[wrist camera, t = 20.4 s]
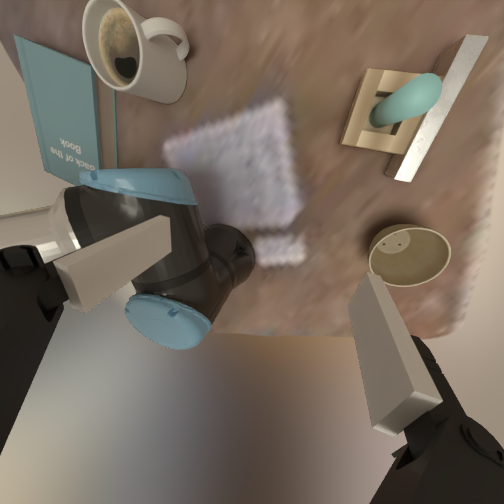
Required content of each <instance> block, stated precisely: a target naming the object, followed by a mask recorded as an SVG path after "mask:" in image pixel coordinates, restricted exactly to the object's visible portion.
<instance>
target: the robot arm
mask: <svg viewBox="0 0 504 504" xmlns="http://www.w3.org/2000/svg"><path fill="white" fill-rule="evenodd" d="M79 176H80V178H79V181H80V183H81V184H83V185H81V186H75V187H69V188H64V189H63V190H62V191H61V192H60V195H59V196H58V198H57V200H56V202H55V204H54V205H52V206H47V207H42V208H37V209H31V210H27V211H21V212H15V213H10V214H5V215H0V455H1V452H2V450H3V448H4V445H5V443H6V440H7V438H8V436H9V434H10V431H11V429H12V427H13V425H14V422H15V420H16V418H17V415H18V413H19V411H20V409H21V406H22V404H23V402H24V399H25V397H26V395H27V392H28V390H29V388H30V385H31V383H32V381H33V379H34V376H35V374H36V372H37V369H38V367H39V365H40V363H41V360H42V358H43V356H44V353H45V351H46V349H47V346H48V344H49V342H50V339H51V337H52V335H53V333H54V330H55V328H56V325H57V323H58V321H59V319H60V316H61V314H62V312H63V310H64V306H63V302H65V301H67V300H68V299H69V300H70V303H71V305H72V308H73V309H76V310H78V311H81V312H83V313H87V312H88V311H89V310H91V309H92V308H93V307H95V306H96V305H98V304H99V303H100V302H102V301H103V300H105V299H106V298H107V297H109V296H110V295H112V294H113V293H114V292H116V291H117V290H119V289H120V288H121V287H123V286H124V285H126V284H127V283H128V282H130V281H132V284H133V286H134V288H135V290H136V294H135V295H133V296H132V297H130V298H129V301H128V302H127V303H126V308H125V314H126V317H127V319H128V320H129V322H130V323H131V324H132V325H133V327H134V328H135V329H136V330H137V331H139V332H140V333H141V334H142V335H144V336H145V337H147V338H148V339H150V340H152V341H153V342H155V343H157V344H160V345H162V346H165V347H168V348H172V349H179V350H184V349H190V348H192V347H194V346H196V345H197V344H199V343H200V341H201V340H202V339H203V337H204V336H205V335H206V333H207V332H208V331H209V330H210V329H211V325H212V324H213V322H214V320H215V318H216V317H217V315H218V313H219V311H220V310H221V308H222V306H223V305H224V303H225V301H226V299H227V298H228V296H229V294H230V292H231V291H232V289H234V288H235V287H237V286H238V285H240V284H241V283H243V282H244V281H245V280H246V279H247V278H248V277H249V276H250V274H251V272H252V270H253V268H254V265H255V253H254V250H253V247H252V245H251V243H250V242H249V240H248V239H247V238H246V237H245V236H244V235H243V234H242V233H241V232H240V231H238V230H237V229H235V228H233V227H230V226H227V225H220V224H217V225H211V226H209V227H207V228H205V229H203V226H202V222H201V218H200V214H199V210H198V206H197V205H198V201H197V200H196V199H195V196H194V192H193V189H192V186H191V183H190V180H189V178H188V177H187V175H186V174H185V173H184V172H182V171H181V170H178V169H174V168H120V169H98V170H83V171H81V172H80V173H79ZM348 309H349V314H350V319H351V324H352V329H353V334H354V339H355V344H356V349H357V354H358V359H359V364H360V369H361V374H362V379H363V384H364V389H365V394H366V399H367V404H368V409H369V415H370V419H371V425H372V428H373V429H376V430H378V431H381V432H384V433H386V434H388V435H391V436H394V437H395V436H396V435H397V434H399V433H400V432H402V431H403V430H404V433H405V436H406V439H407V442H408V443H407V444H406V445H404V446H403V447H401V448H400V449H398V450H397V451H395V452H394V453H392V456H393V457H394V458H395V457H396V459H395V461H394V463H393V464H392V466H391V468H390V470H389V471H388V473H387V475H386V476H385V478H384V480H383V481H382V483H381V485H380V486H379V488H378V490H377V492H376V494H375V495H374V497H373V498H372V500H371V502H370V504H504V449H503V448H502V446H501V445H500V444H499V443H498V441H497V440H496V439H495V438H494V436H492V435H491V434H490V433H489V432H488V431H487V430H486V429H485V428H484V427H483V426H482V425H480V424H479V423H477V422H476V421H475V420H473V419H472V418H470V417H468V416H467V415H466V414H465V412H464V410H463V408H462V407H461V404H460V403H459V401H458V399H457V397H456V396H455V394H454V392H453V390H452V388H451V387H450V385H449V383H448V381H447V380H446V378H445V376H444V374H442V371H441V369H440V367H439V365H438V364H437V363H436V360H435V358H434V356H433V355H432V353H431V351H430V349H429V348H428V347H427V346H426V345H425V344H424V343H423V342H422V340H421V339H420V338H419V337H416V336H413V335H410V334H409V332H408V330H407V328H406V326H405V324H404V322H403V320H402V318H401V316H400V314H399V312H398V310H397V308H396V306H395V304H394V302H393V300H392V298H391V296H390V294H389V292H388V290H387V288H386V286H385V284H384V282H383V280H382V278H381V276H379V275H376V274H372V273H368V272H366V274H365V276H364V278H363V279H362V281H361V283H360V285H359V287H358V288H357V290H356V292H355V294H354V296H353V297H352V299H351V301H350V303H349V305H348Z"/></svg>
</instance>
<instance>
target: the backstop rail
mask: <svg viewBox="0 0 504 504" xmlns="http://www.w3.org/2000/svg"><path fill="white" fill-rule="evenodd" d="M488 38H489V36H477V35H465V36H464V37H463V38H461V39H460V40H459V41H458V42H456V43H455V44H454V45H452V46H451V47H450V48H448V49H447V50H446V51H444V52H443V53H442V54H440V56H439V58H438V60H437V62H436V64H435V66H434V69H433V71H432V74H435V75H437V76H442V78H441V82H442V92H441V95H440V97H439V99H438V101H437V102H436V104H435V105H434V106H433V107H432V108H431V109H430V110H429V111H427V112H426V113H424V114H423V116H422V118H421V120H420V122H419V124H418V126H417V128H416V130H415V132H414V134H413V137H412V139H411V141H410V143H409V145H408V147H407V149H406V151H405V153H404V155H403V154H393V156H392V158H391V160H390V162H389V165H388V167H387V169H386V171H385V173H384V175H386V176H388V177H391V178H393V179H397V180H402V181H407V182H411V180H412V178H413V176H414V174H415V173H416V171H417V169H418V167H419V165H420V163H421V161H422V160H423V158H424V156H425V154H426V152H427V150H428V149H429V147H430V145H431V143H432V141H433V139H434V138H435V136H436V134H437V132H438V130H439V128H440V126H441V125H442V123H443V121H444V119H445V117H446V115H447V114H448V112H449V110H450V108H451V106H452V104H453V103H454V101H455V99H456V97H457V95H458V93H459V91H460V90H461V88H462V86H463V84H464V82H465V80H466V79H467V77H468V75H469V73H470V71H471V69H472V68H473V66H474V64H475V62H476V60H477V58H478V56H479V55H480V53H481V51H482V49H483V47H484V45H485V44H486V42H487V40H488Z"/></svg>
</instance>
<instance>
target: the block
mask: <svg viewBox="0 0 504 504" xmlns="http://www.w3.org/2000/svg"><path fill="white" fill-rule="evenodd" d="M419 75H421V74H415V73H406V72H397V71H388V70H379V69H370V68H368V69H367V70H366V72H365V73H364V75H363V76H362V78H361V81H360V84H359V87H358V90H357V92H356V95H355V98H354V101H353V104H352V107H351V110H350V113H349V116H348V119H347V122H346V125H345V128H344V131H343V134H342V137H341V140H340V143H339V144H341V145H347V146H352V147H358V148H364V149H369V150H375V151H381V152H386V153H392V154H403V155H404V153H405V151H406V149H407V147H408V145H409V143H410V141H411V139H412V137H413V134H414V132H415V130H416V128H417V126H418V124H419V122H420V120H421V118H422V116H423V114H422V115H419V116H416V117H413V118H410V119H407V120H403V121H400V122H397V123H394V124H391V125H387V126H384V127H381V128H375V127H373V126H372V125H371V124H370V122H369V115H370V112H371V110H372V109H373V108H374V107H375V106H376V105H377V104H378V103H380V102H381V101H383V100H384V99H385V98H387V97H388V96H390V95H391V94H392V93H394V92H395V91H397V90H398V89H400V88H401V87H402V86H404V85H405V84H407V83H408V82H409V81H411V80H412V79H414V78H415V77H417V76H419ZM438 77H439V78H440V80H441V78H442V76H438Z"/></svg>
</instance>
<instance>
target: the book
mask: <svg viewBox="0 0 504 504" xmlns="http://www.w3.org/2000/svg"><path fill="white" fill-rule="evenodd" d="M14 38H15V43H16V47H17V51H18V56H19V60H20V64H21V69H22V73H23V78H24V82H25V86H26V91H27V95H28V100H29V104H30V108H31V113H32V117H33V122H34V125H35V130H36V135H37V139H38V144H39V148H40V152H41V157H42V161H43V165H44V170H45V171H46V172H48V173H51V174H52V175H55V176H57V177H59V178H61V179H63V180H65V181H67V182H69V183H71V184H74V185H76V186H81V185H83V184H81V183H80V181H79V178H80V176H79V173H80V172H81V171H83V170H98V169H118V150H117V119H116V90H115V89H113V88H111V87H110V86H108V85H107V84H106V83H104V82H103V81H102V80H101V78H100V77H99V76H98V75H97V73H96V72H95V70H94V69H93V67H92V65H89V64H87V63H85V62H82V61H80V60H77V59H75V58H72V57H70V56H68V55H65V54H63V53H60V52H58V51H56V50H53V49H51V48H48V47H46V46H44V45H41V44H38V43H36V42H33V41H30V40H28V39H25V38H22V37H20V36H17V35H14Z"/></svg>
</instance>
